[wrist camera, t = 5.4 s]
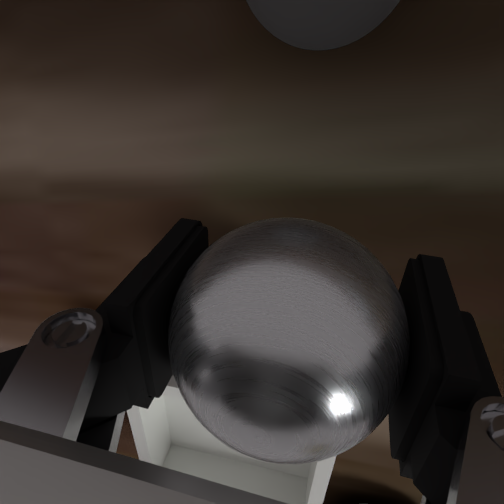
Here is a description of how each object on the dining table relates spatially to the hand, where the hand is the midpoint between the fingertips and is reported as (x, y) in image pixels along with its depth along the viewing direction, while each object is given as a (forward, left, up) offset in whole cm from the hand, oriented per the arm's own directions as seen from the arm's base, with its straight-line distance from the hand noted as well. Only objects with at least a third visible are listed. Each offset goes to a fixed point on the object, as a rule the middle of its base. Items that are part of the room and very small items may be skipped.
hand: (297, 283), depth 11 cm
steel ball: (0, 0, +2) cm, 2 cm away
